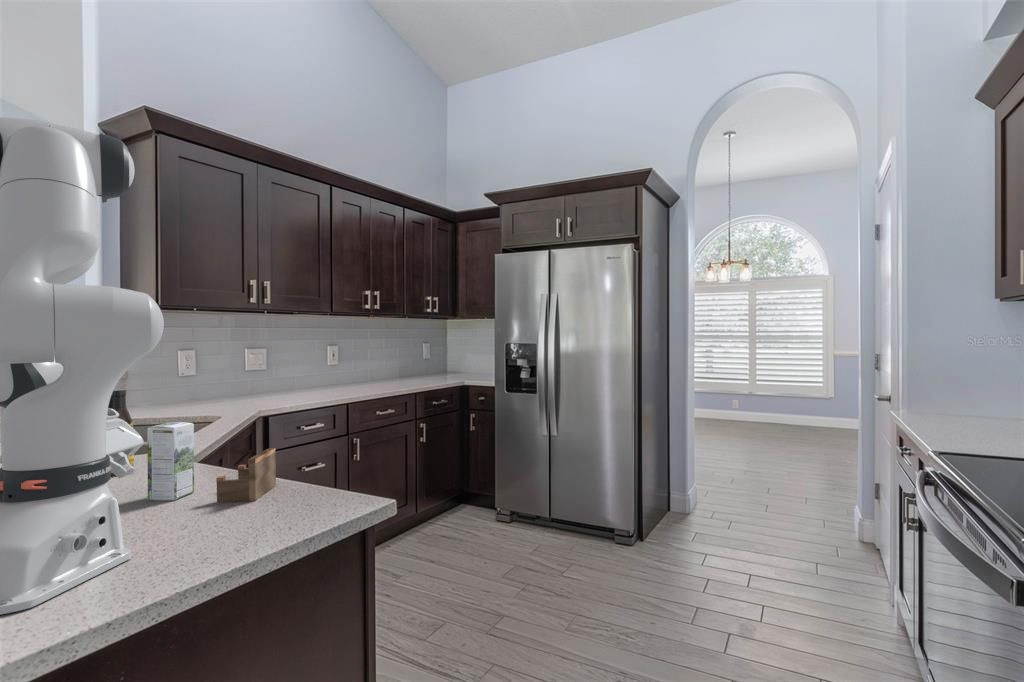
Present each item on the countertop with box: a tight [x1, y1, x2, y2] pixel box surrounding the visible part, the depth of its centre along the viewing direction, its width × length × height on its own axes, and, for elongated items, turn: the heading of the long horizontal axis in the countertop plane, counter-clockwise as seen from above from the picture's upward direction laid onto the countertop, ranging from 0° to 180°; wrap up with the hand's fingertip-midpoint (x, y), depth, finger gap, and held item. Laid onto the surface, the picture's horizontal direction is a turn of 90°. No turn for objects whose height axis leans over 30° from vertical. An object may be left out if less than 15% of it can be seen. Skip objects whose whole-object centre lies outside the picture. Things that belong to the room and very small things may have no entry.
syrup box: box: [146, 421, 195, 502], centre depth 106 cm, size 6×6×14 cm
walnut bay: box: [216, 447, 277, 503], centre depth 107 cm, size 11×7×8 cm
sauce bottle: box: [108, 388, 135, 477], centre depth 126 cm, size 7×6×20 cm
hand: (127, 474), depth 105 cm, fingers closed
